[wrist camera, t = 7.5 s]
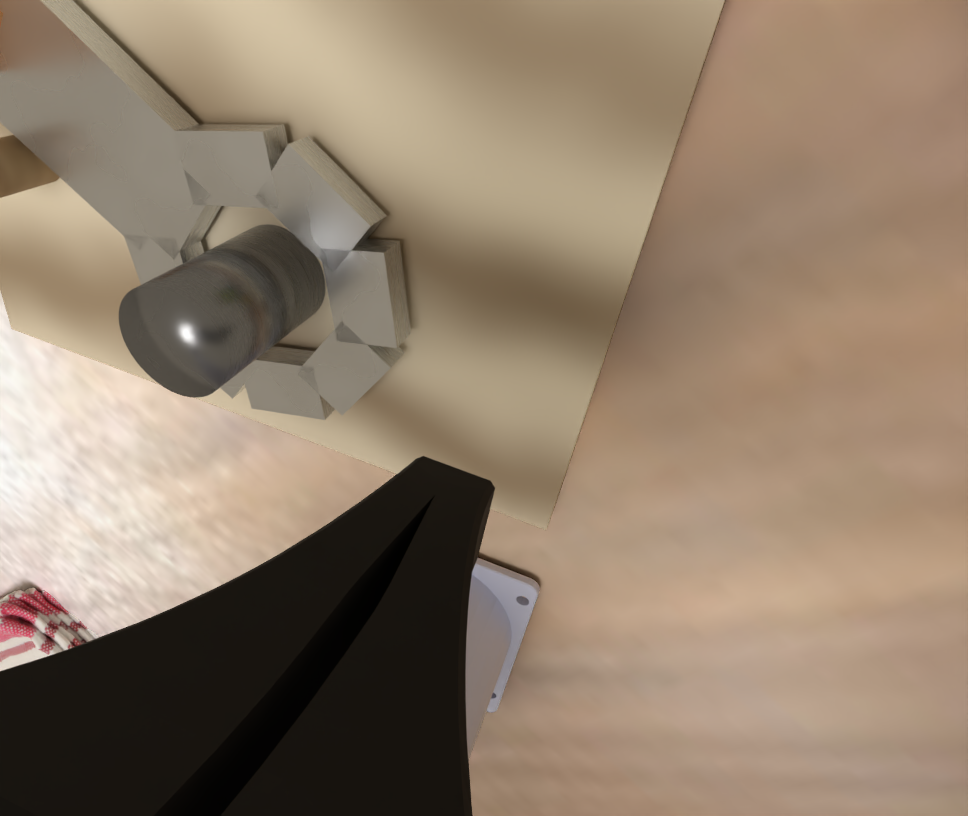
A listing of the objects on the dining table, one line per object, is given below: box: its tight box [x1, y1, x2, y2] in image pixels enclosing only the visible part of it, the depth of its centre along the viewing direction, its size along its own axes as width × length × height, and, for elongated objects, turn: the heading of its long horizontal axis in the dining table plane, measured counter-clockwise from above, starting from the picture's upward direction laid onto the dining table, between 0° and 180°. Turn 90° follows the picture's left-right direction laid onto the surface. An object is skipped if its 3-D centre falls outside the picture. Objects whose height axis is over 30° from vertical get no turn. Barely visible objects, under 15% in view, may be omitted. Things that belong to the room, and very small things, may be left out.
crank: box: [0, 0, 411, 420], centre depth 18 cm, size 17×9×5 cm, turn 49°
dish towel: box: [0, 588, 99, 671], centre depth 47 cm, size 17×23×4 cm
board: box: [0, 0, 726, 530], centre depth 20 cm, size 19×23×1 cm
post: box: [119, 224, 325, 398], centre depth 19 cm, size 3×3×5 cm
